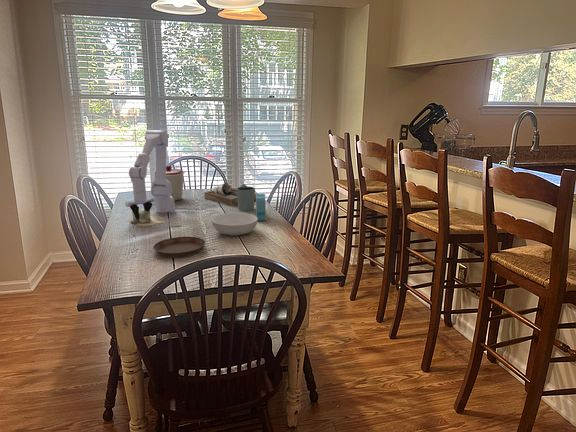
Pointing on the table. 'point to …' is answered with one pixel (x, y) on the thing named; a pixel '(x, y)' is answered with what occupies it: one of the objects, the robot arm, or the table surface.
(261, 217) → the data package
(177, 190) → the canister
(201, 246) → the plant saucer
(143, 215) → the block
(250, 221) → the serving bowl
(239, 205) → the green lidded jar
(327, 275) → the table surface
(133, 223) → the small gray block
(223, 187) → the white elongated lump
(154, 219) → the board
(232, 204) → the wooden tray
